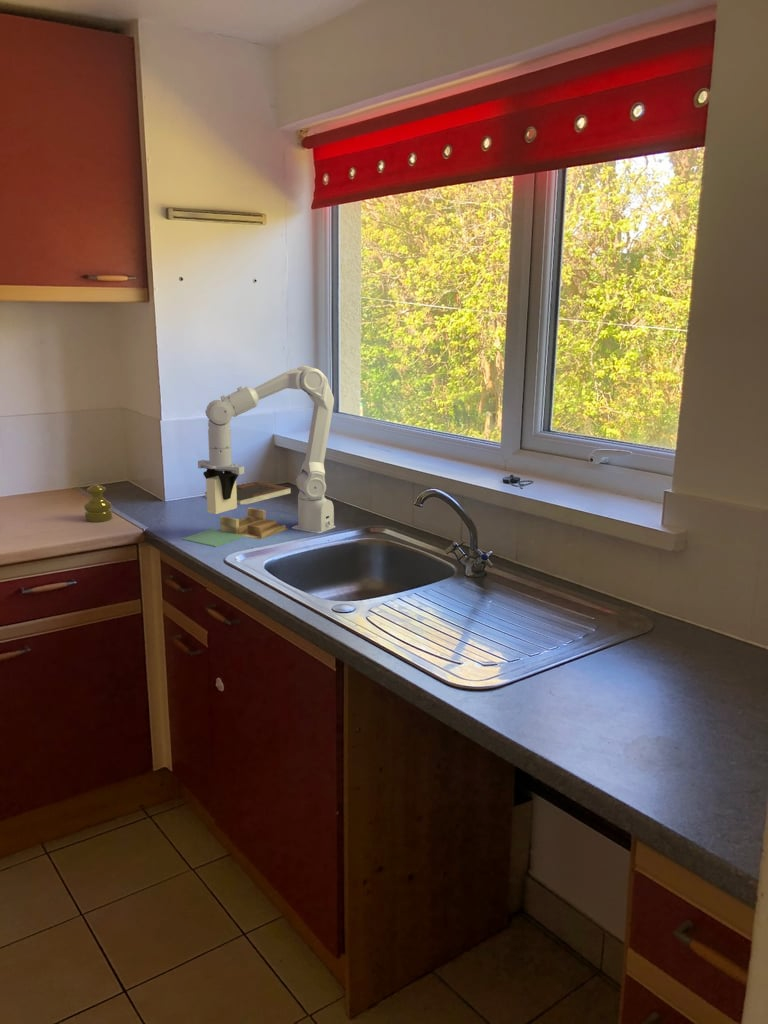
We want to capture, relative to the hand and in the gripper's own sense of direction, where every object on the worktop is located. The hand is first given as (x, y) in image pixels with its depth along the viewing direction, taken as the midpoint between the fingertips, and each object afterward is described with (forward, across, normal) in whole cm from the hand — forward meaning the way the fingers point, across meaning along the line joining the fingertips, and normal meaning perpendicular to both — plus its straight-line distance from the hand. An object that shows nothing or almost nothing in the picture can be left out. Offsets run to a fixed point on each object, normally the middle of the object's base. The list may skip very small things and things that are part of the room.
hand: (221, 497), depth 220 cm
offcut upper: (+9, +7, +8) cm, 14 cm away
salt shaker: (+11, -41, -7) cm, 43 cm away
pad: (+10, 0, -4) cm, 11 cm away
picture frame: (+11, -25, +39) cm, 47 cm away
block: (+3, 0, 0) cm, 3 cm away
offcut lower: (+10, +7, +8) cm, 15 cm away
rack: (+10, +4, +8) cm, 14 cm away
